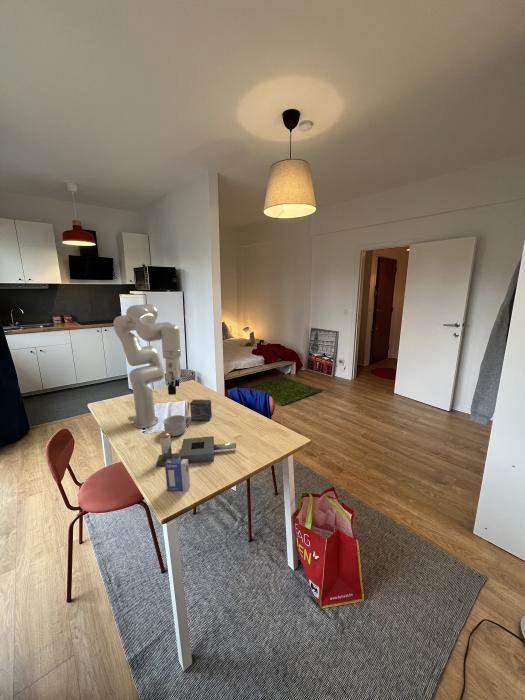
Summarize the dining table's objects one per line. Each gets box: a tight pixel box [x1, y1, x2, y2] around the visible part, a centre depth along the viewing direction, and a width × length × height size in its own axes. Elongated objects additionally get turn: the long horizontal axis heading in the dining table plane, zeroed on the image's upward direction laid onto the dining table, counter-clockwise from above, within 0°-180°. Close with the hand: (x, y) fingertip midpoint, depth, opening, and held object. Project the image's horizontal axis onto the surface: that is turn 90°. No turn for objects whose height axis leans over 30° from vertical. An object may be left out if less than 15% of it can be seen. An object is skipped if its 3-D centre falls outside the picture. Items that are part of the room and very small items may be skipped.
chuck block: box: [179, 435, 237, 465], centre depth 130 cm, size 24×14×4 cm, turn 99°
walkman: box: [164, 458, 191, 492], centre depth 106 cm, size 8×3×12 cm, turn 89°
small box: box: [189, 399, 213, 422], centre depth 162 cm, size 11×6×10 cm, turn 84°
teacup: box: [163, 414, 191, 437], centre depth 147 cm, size 14×11×8 cm
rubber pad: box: [155, 452, 179, 468], centre depth 125 cm, size 8×8×1 cm
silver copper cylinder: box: [159, 431, 173, 462], centre depth 123 cm, size 4×4×12 cm
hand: (174, 390), depth 129 cm, fingers open, 9 cm apart
